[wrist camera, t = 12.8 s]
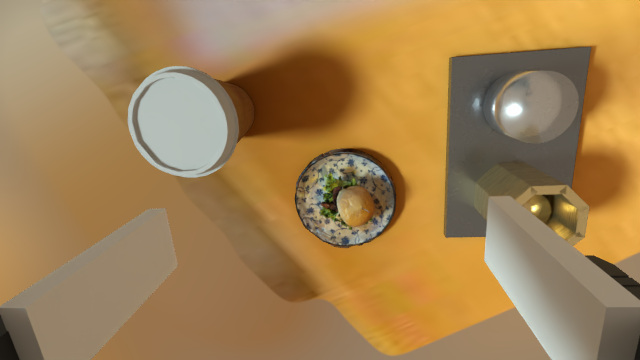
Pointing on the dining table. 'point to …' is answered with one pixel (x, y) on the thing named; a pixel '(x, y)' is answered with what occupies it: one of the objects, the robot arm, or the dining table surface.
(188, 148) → the disposable coffee cup
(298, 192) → the burger
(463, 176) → the plate
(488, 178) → the sleeve
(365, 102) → the dining table surface
